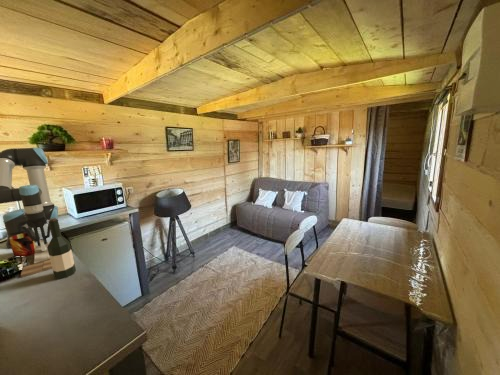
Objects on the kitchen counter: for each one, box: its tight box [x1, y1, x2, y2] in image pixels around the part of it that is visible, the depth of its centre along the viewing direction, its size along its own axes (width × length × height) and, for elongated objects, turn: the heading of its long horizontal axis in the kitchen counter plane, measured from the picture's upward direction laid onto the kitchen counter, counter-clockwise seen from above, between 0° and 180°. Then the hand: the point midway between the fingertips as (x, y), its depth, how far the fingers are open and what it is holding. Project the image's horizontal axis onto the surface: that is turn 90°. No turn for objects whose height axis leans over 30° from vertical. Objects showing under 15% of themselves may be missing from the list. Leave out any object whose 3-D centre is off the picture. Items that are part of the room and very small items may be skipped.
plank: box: [33, 241, 50, 264], centre depth 125 cm, size 18×8×2 cm, turn 41°
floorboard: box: [20, 260, 53, 278], centre depth 115 cm, size 11×16×2 cm
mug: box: [9, 233, 36, 257], centre depth 129 cm, size 10×14×12 cm
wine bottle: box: [47, 218, 77, 280], centre depth 105 cm, size 8×8×30 cm
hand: (44, 249), depth 125 cm, fingers closed
